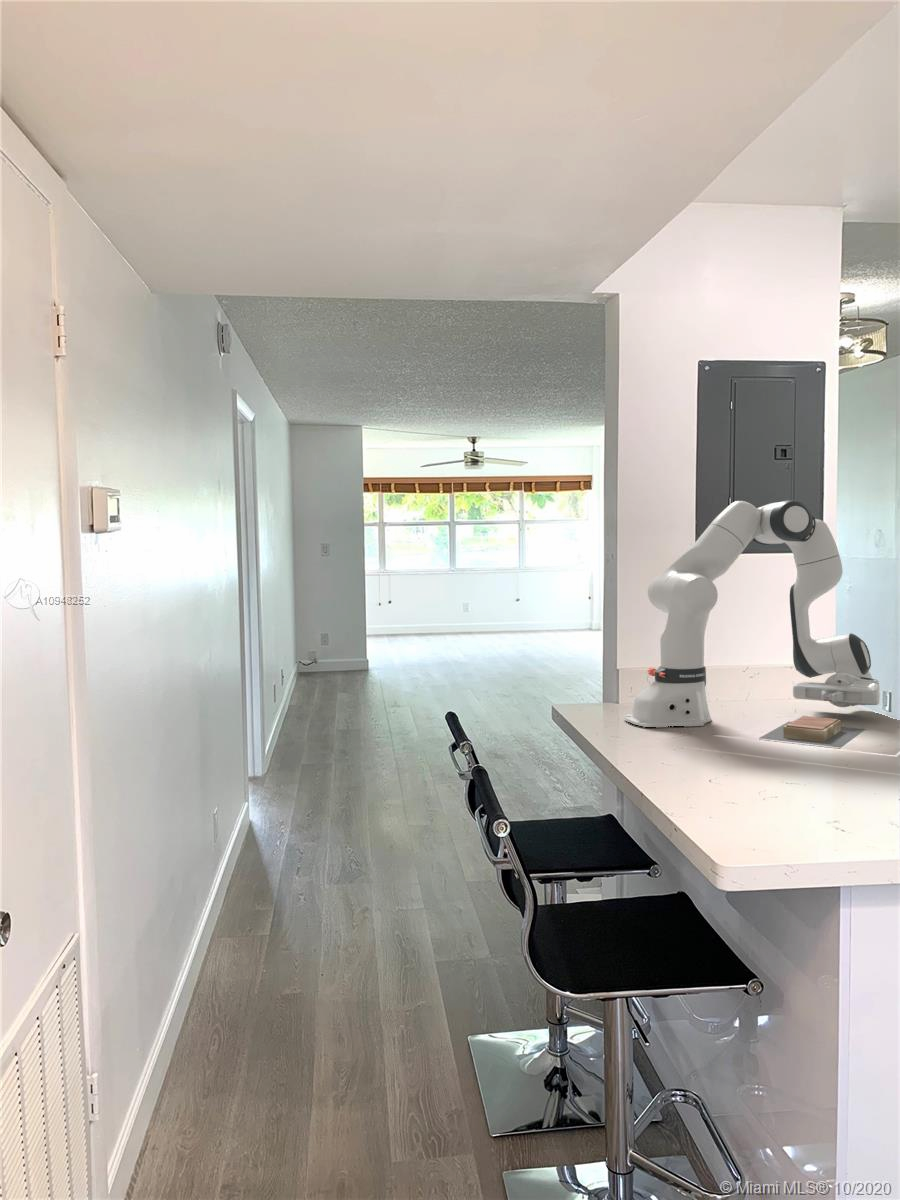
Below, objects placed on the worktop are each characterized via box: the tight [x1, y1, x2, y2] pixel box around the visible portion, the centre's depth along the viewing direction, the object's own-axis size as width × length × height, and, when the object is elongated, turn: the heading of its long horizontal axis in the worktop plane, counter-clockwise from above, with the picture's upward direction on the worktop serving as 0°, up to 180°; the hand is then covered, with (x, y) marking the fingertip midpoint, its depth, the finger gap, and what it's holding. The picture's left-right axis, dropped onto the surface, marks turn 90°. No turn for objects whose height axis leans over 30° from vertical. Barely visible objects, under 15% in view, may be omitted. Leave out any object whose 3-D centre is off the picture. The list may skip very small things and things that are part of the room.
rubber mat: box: [758, 721, 866, 750], centre depth 200 cm, size 22×18×1 cm
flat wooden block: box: [783, 715, 842, 742], centre depth 199 cm, size 3×9×14 cm
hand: (827, 697), depth 208 cm, fingers closed
